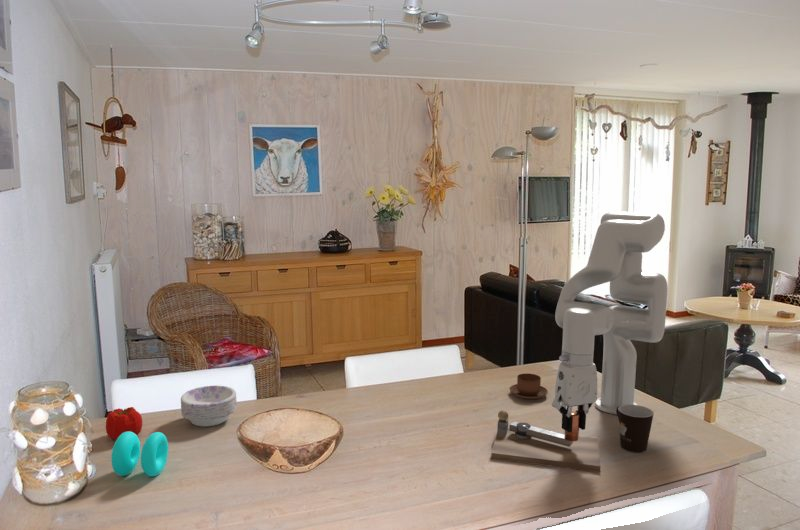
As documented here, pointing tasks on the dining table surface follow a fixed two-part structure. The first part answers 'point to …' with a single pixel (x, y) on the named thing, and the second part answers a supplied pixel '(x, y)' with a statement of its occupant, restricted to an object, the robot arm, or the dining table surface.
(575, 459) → the wooden lever base
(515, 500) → the dining table surface
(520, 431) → the lever
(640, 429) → the coffee mug
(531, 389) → the cup and saucer
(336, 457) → the dining table surface
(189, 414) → the paper bowls
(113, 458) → the donuts
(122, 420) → the tomato
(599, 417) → the dining table surface
